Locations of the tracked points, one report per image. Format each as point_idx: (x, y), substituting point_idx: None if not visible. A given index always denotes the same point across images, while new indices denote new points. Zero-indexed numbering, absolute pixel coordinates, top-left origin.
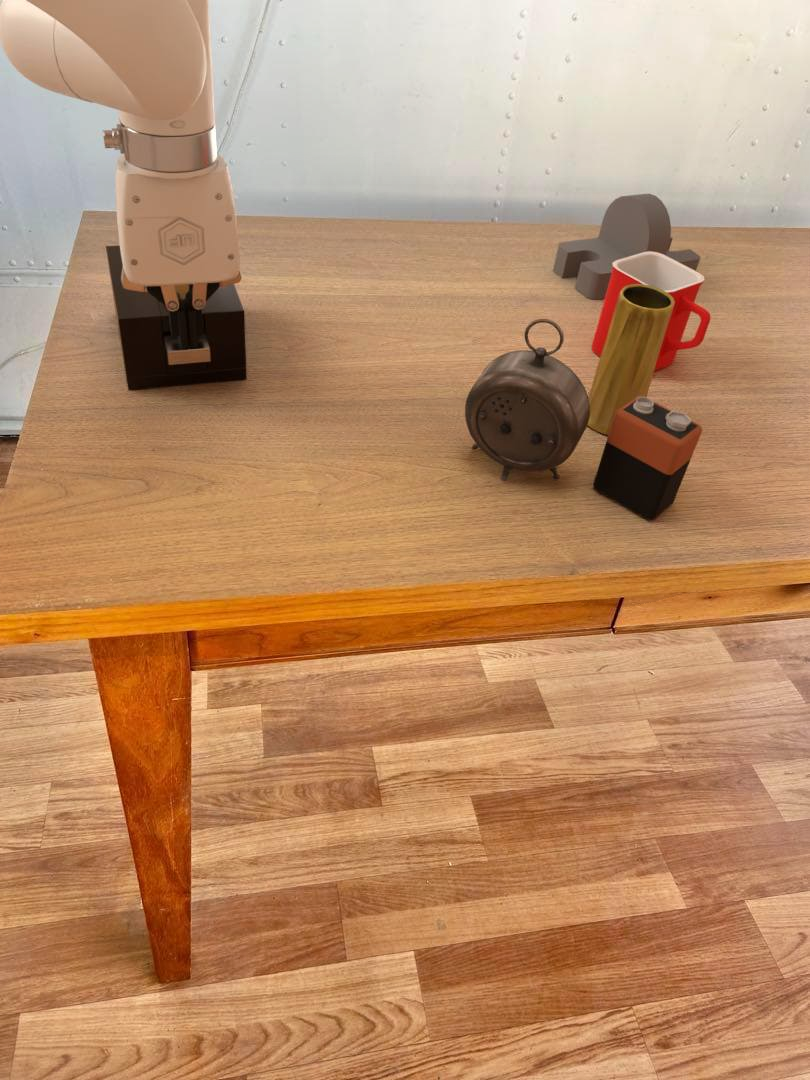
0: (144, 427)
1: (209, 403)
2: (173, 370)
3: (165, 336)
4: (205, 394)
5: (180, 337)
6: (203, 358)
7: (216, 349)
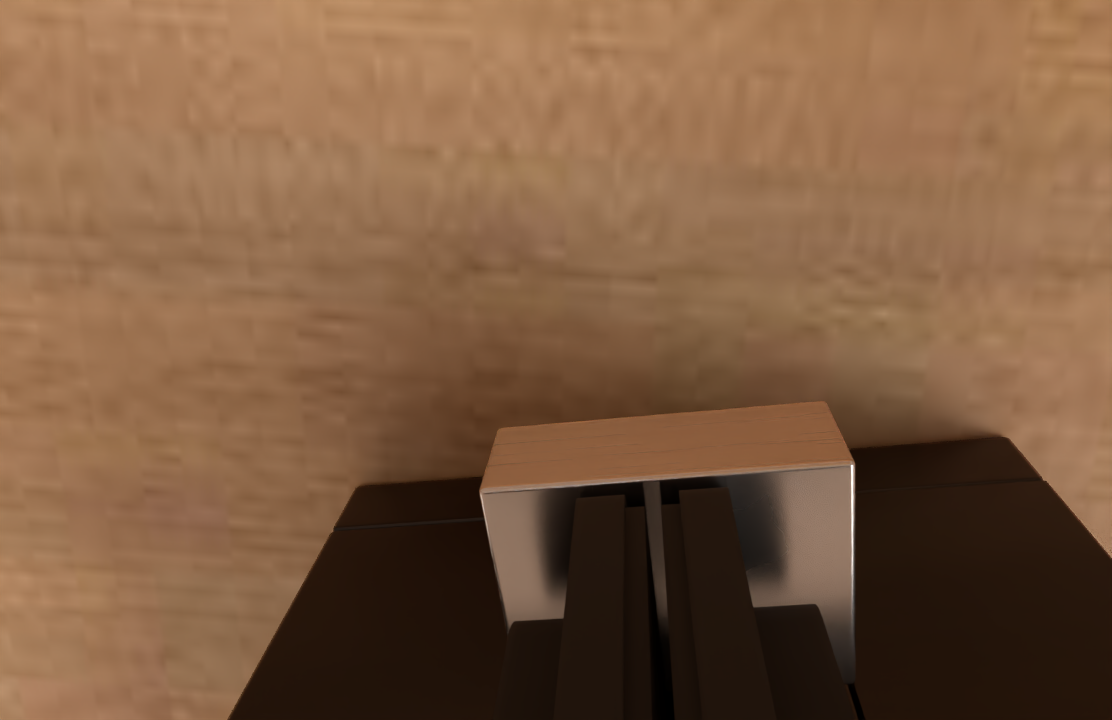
0: (971, 49)
1: (557, 284)
2: None
3: (843, 675)
4: (578, 372)
5: (741, 551)
6: (547, 436)
7: (469, 608)
